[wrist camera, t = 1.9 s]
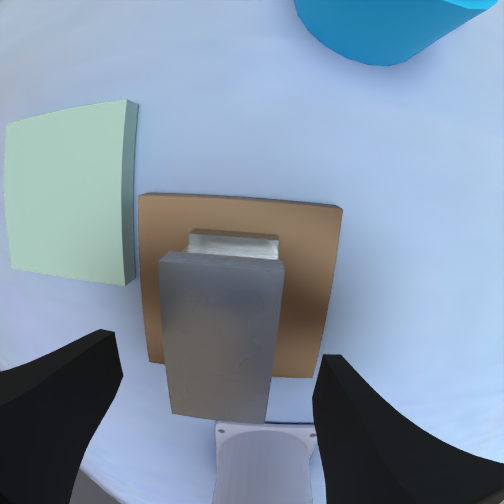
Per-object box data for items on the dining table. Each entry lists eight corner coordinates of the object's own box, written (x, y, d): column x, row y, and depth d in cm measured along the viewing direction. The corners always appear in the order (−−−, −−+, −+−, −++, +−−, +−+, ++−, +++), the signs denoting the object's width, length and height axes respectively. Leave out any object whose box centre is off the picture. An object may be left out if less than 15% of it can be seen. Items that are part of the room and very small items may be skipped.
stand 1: (135, 276, 17) (125, 286, 15) (24, 261, 17) (11, 267, 15) (138, 104, 14) (126, 99, 12) (20, 125, 14) (6, 124, 13)
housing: (265, 356, 16) (264, 424, 11) (195, 349, 16) (171, 413, 11) (278, 234, 14) (284, 271, 9) (194, 228, 14) (157, 261, 9)
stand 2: (309, 363, 18) (312, 378, 16) (156, 348, 18) (149, 361, 16) (335, 205, 15) (342, 209, 13) (149, 192, 15) (138, 195, 14)
